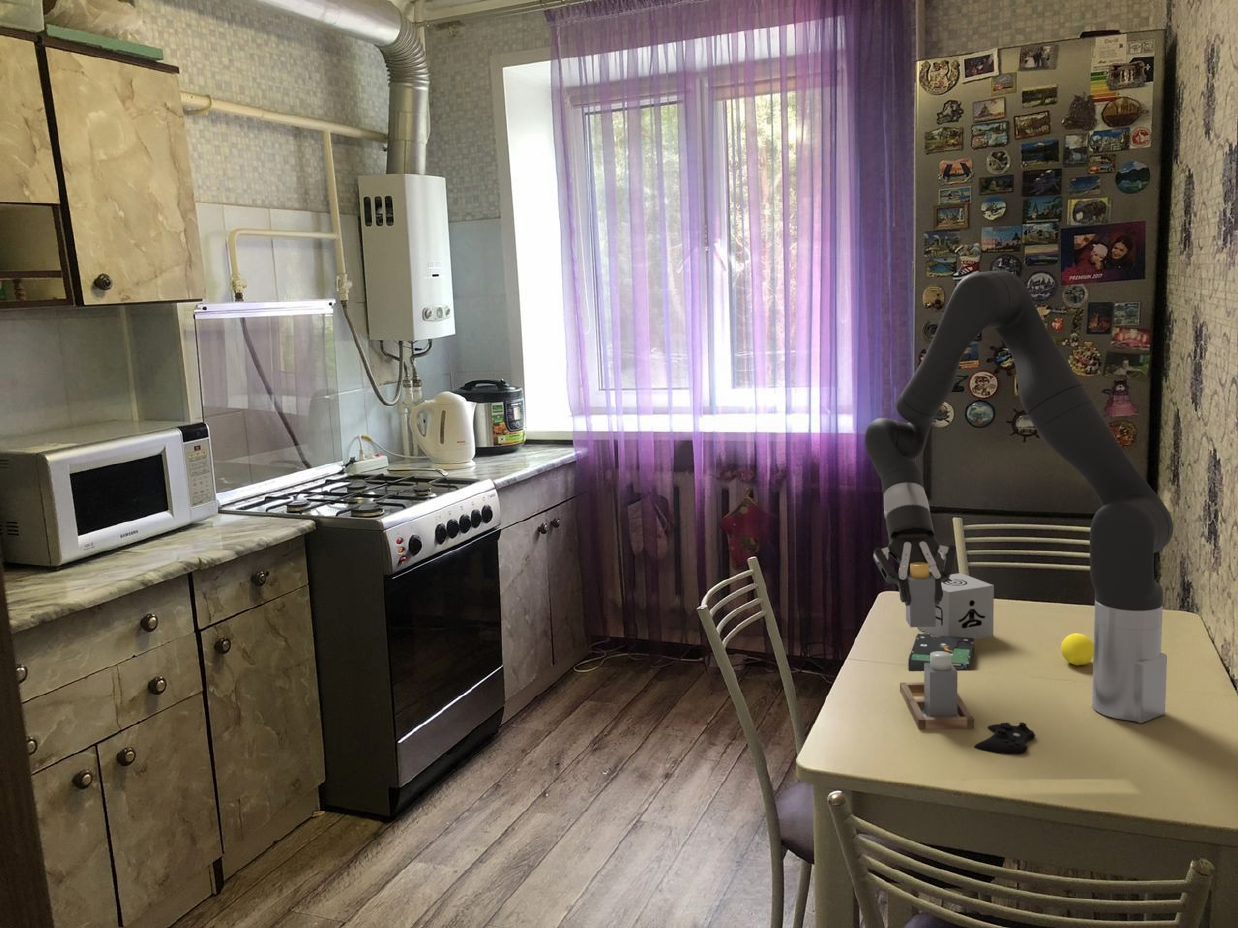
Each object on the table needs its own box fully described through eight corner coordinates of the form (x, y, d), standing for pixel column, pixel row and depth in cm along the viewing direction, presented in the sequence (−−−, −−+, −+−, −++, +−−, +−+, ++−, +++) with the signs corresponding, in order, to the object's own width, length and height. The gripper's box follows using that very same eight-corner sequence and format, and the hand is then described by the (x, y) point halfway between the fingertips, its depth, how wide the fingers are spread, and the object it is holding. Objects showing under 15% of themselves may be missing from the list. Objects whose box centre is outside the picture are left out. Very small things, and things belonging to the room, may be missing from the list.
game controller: (983, 725, 151) (1024, 707, 147) (1002, 755, 150) (1044, 738, 146) (965, 749, 143) (1008, 731, 139) (985, 781, 142) (1029, 764, 138)
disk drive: (916, 647, 190) (907, 673, 177) (916, 633, 190) (907, 658, 176) (974, 651, 187) (970, 679, 173) (974, 637, 186) (970, 663, 173)
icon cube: (917, 628, 199) (917, 579, 198) (960, 621, 202) (960, 573, 201) (948, 643, 190) (949, 592, 188) (993, 636, 193) (993, 585, 191)
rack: (950, 697, 164) (950, 682, 164) (974, 736, 149) (974, 719, 149) (900, 698, 165) (899, 682, 164) (918, 736, 150) (918, 719, 150)
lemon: (1092, 674, 173) (1093, 645, 172) (1058, 669, 176) (1058, 641, 174) (1096, 655, 179) (1096, 628, 177) (1062, 652, 181) (1063, 624, 180)
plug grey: (950, 712, 155) (951, 649, 154) (957, 722, 151) (957, 658, 150) (924, 712, 156) (924, 650, 154) (929, 723, 152) (929, 659, 150)
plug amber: (930, 619, 169) (929, 560, 168) (935, 626, 165) (934, 567, 164) (906, 619, 169) (905, 561, 168) (910, 627, 165) (909, 567, 164)
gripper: (867, 504, 173) (880, 593, 162) (953, 501, 171) (971, 590, 161) (863, 528, 179) (876, 615, 168) (946, 525, 177) (964, 612, 167)
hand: (922, 602), depth 165 cm, fingers closed on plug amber, 4 cm apart
